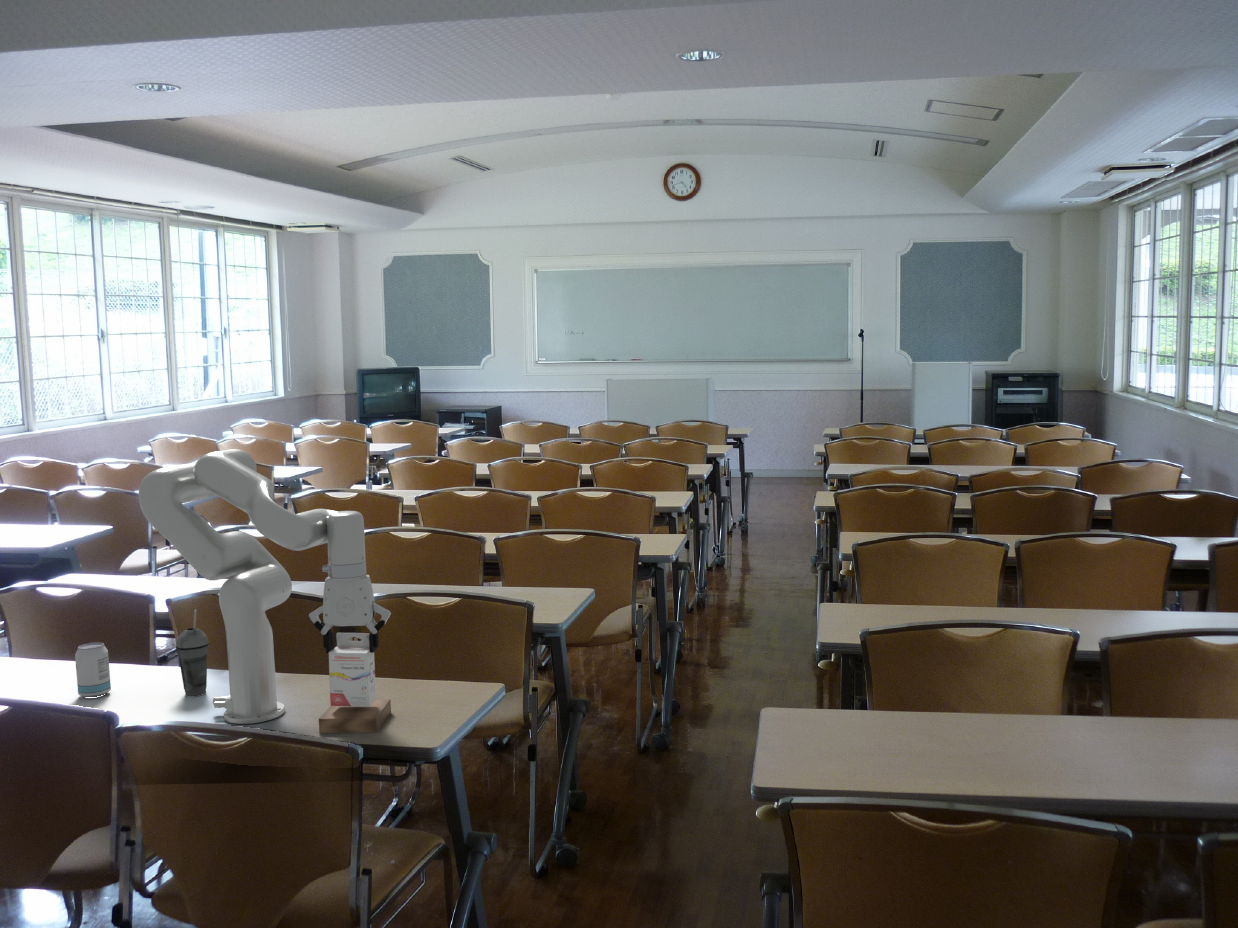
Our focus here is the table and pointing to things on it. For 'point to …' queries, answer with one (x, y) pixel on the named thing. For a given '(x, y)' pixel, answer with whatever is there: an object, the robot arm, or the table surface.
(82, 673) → the beverage can
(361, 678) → the ink cartridge box
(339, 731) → the walnut base plate
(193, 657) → the beverage cup
